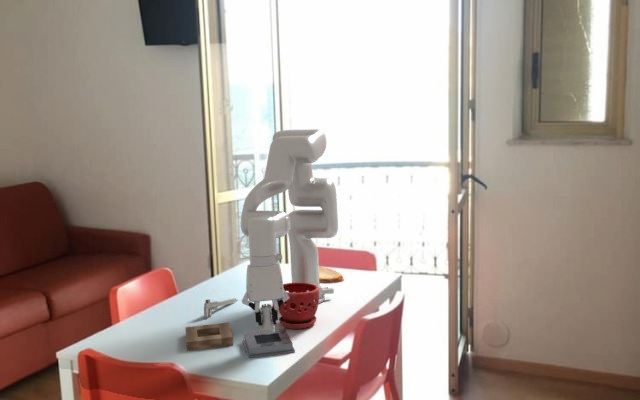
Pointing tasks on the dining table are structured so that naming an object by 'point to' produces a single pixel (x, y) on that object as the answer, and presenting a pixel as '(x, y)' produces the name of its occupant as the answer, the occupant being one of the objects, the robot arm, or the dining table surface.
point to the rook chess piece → (266, 320)
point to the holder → (267, 344)
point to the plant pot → (299, 305)
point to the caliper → (215, 306)
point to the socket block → (208, 336)
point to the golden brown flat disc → (329, 275)
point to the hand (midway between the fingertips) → (266, 323)
